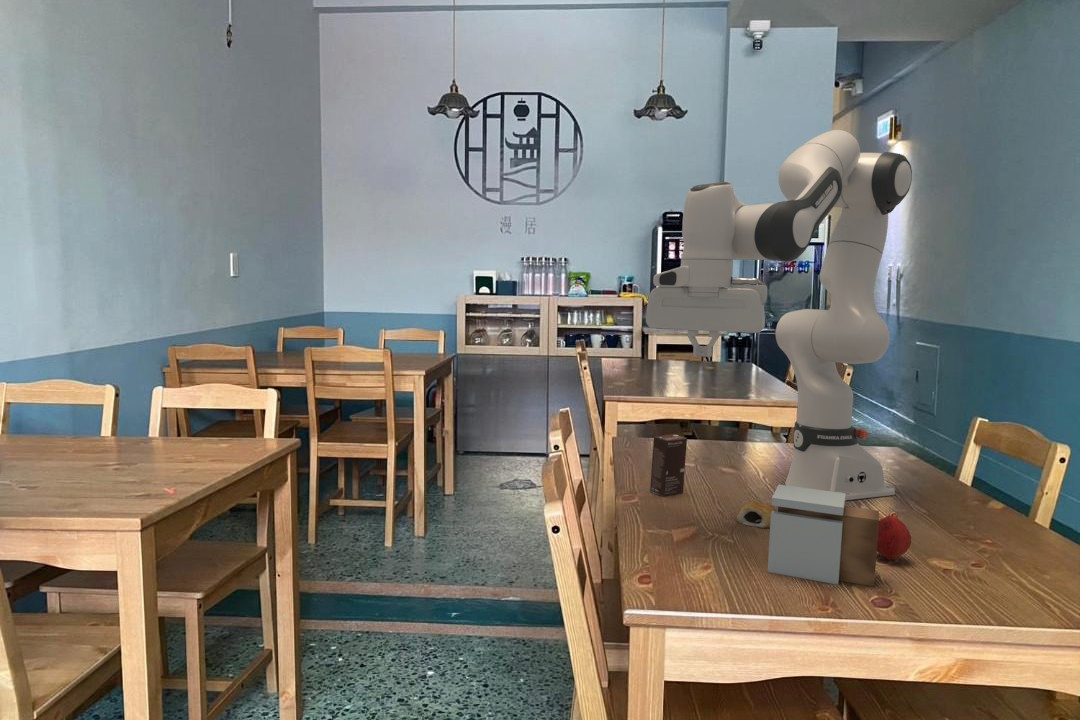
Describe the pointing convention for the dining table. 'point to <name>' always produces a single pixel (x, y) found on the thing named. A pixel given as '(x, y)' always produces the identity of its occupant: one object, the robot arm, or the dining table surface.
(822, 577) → the grey slotted cube
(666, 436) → the box
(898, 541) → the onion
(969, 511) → the dining table surface
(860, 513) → the walnut block
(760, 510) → the pastry
